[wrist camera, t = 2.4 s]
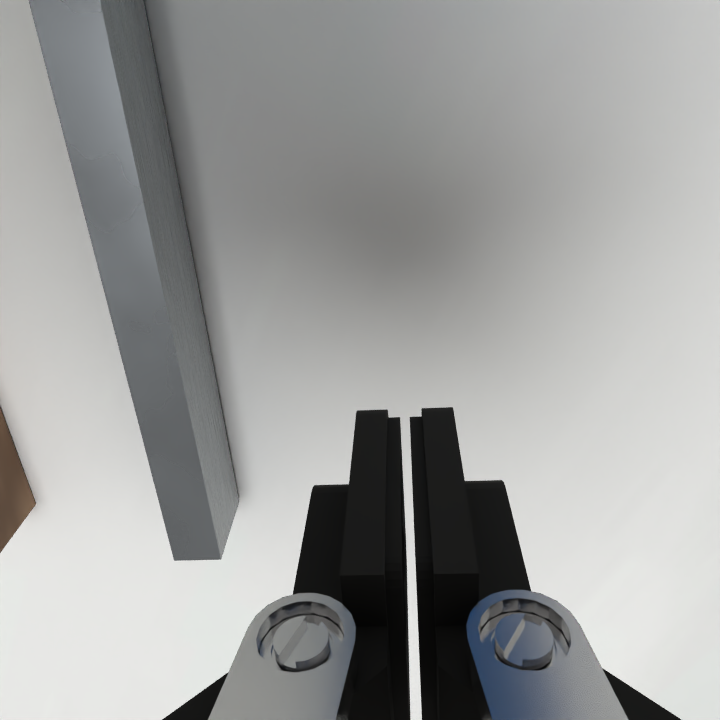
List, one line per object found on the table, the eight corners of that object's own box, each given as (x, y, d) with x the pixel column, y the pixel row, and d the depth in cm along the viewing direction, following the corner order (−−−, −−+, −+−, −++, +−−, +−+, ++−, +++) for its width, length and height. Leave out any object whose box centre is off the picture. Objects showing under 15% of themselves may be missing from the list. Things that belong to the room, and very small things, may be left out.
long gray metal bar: (73, -41, 17) (15, -53, 14) (134, -47, 17) (86, -59, 14) (197, 502, 25) (174, 560, 22) (239, 501, 25) (221, 559, 22)
